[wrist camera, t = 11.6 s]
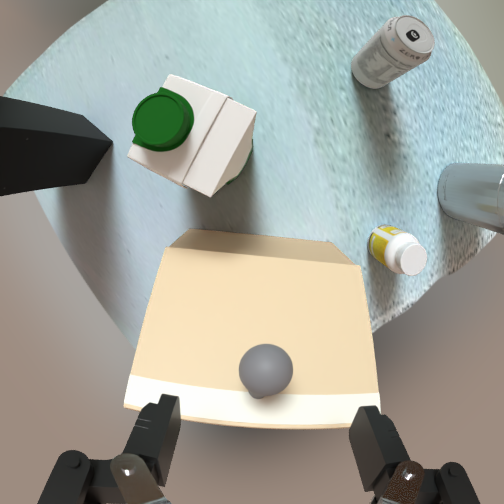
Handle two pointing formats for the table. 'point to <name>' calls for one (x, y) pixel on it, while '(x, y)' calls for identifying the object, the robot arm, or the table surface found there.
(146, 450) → the robot arm
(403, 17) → the energy drink can
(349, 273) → the flap
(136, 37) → the table surface
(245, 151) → the milk carton
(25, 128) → the tall black box
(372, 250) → the supplement bottle
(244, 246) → the carton
